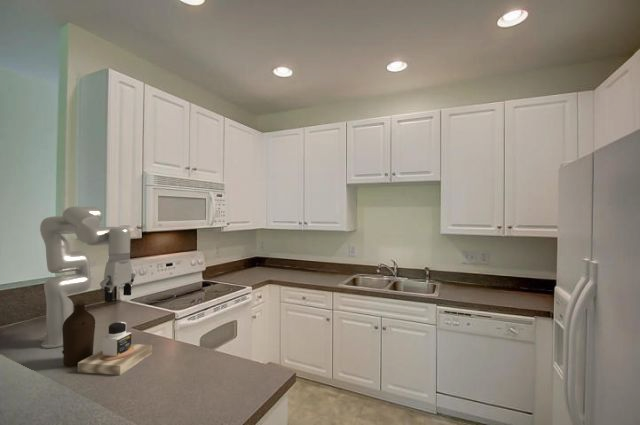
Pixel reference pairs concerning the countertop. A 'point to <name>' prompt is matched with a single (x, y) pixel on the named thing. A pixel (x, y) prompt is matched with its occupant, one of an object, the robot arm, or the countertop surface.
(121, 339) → the medicine bottle
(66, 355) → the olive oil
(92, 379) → the countertop surface
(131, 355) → the stand
